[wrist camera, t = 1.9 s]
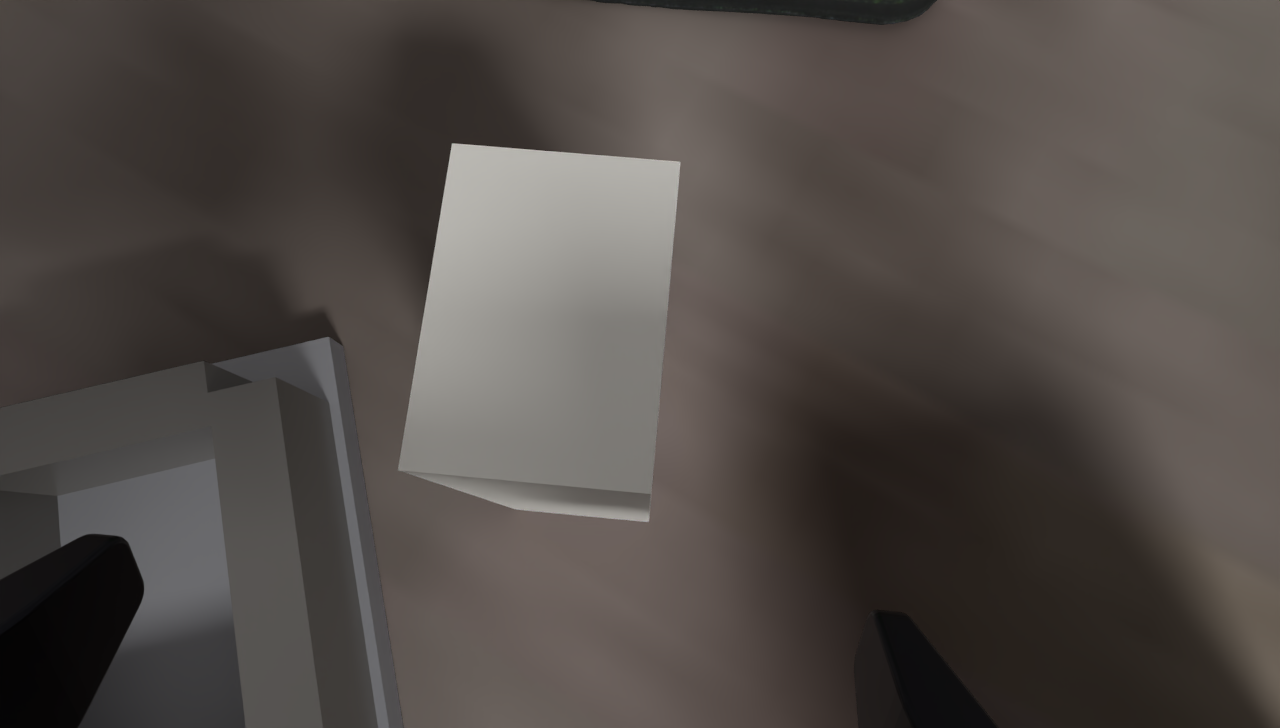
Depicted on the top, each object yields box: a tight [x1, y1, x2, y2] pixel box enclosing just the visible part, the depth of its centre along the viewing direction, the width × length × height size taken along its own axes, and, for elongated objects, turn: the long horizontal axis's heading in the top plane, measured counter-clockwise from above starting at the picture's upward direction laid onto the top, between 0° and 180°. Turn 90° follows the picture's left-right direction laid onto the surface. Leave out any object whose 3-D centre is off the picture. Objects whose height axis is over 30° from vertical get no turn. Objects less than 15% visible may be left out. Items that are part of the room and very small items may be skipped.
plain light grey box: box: [398, 143, 680, 522], centre depth 16 cm, size 5×4×10 cm
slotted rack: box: [0, 337, 403, 728], centre depth 18 cm, size 12×9×4 cm
